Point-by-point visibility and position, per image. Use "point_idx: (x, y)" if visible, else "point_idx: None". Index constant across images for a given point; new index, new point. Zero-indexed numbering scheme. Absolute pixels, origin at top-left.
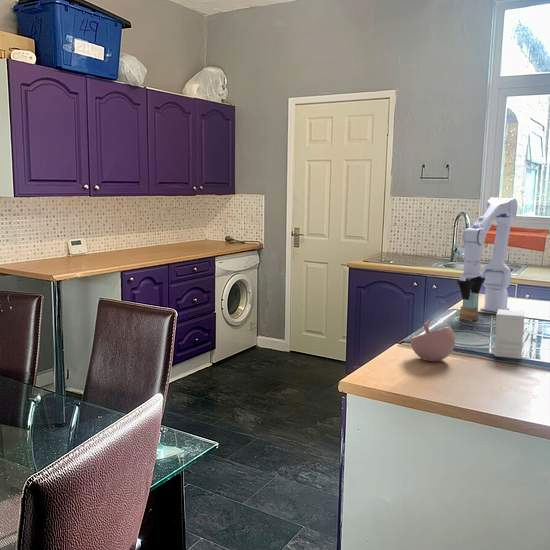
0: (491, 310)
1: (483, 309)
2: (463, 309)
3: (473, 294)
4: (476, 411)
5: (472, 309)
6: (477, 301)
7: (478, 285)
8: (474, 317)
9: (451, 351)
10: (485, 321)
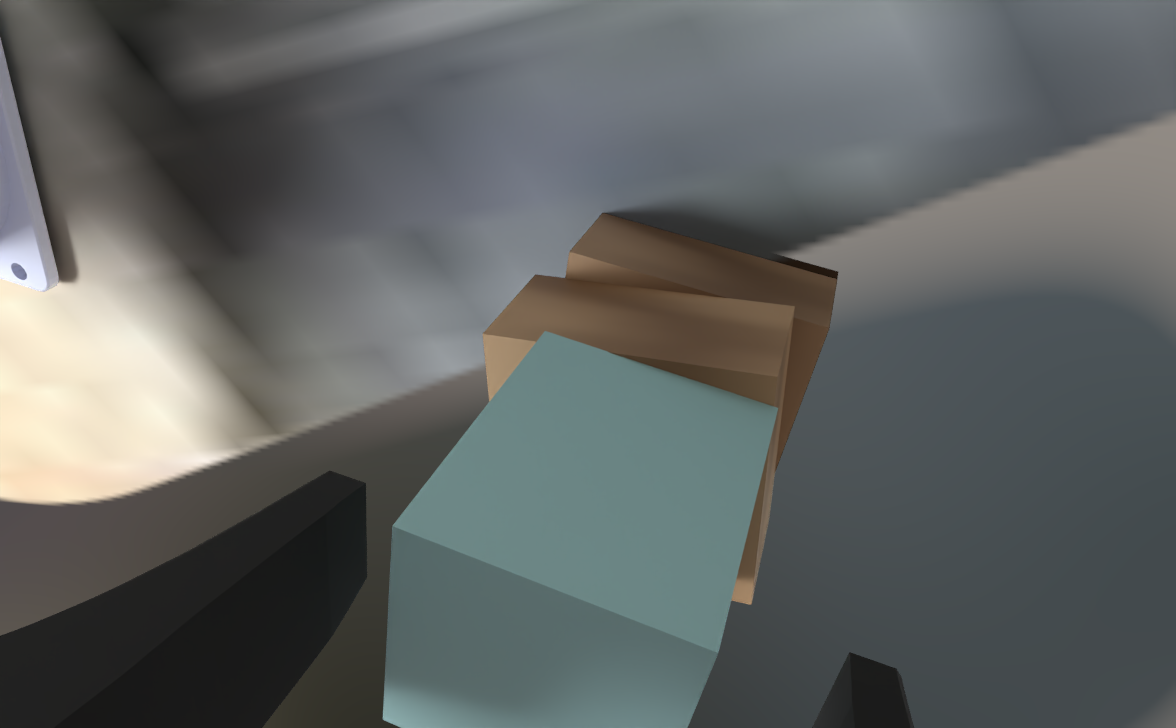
0: (14, 132)
1: (46, 245)
2: (763, 531)
3: (630, 650)
4: None
5: (773, 400)
6: (536, 413)
7: (122, 721)
8: (747, 280)
9: None
10: (722, 65)
